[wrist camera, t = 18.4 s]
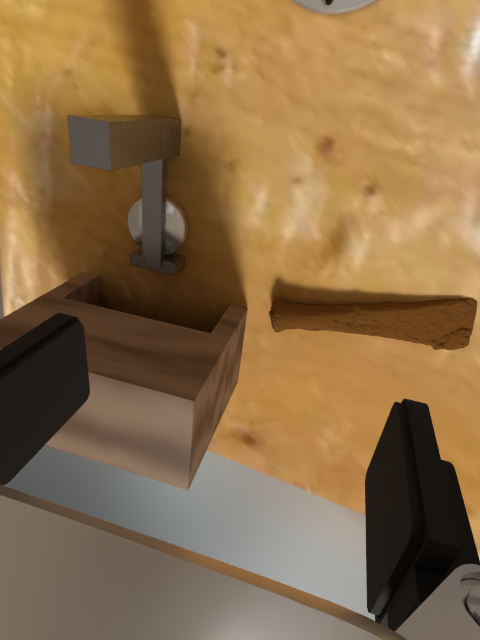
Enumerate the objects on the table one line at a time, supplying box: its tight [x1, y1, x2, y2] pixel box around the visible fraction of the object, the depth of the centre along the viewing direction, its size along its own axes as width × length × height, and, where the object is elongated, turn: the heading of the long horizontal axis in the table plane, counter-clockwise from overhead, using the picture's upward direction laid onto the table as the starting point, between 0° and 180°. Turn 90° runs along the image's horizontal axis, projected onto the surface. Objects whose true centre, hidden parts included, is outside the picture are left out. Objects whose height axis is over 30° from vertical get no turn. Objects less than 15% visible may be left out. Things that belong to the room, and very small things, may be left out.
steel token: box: [128, 195, 189, 255], centre depth 40 cm, size 6×6×2 cm
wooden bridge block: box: [0, 272, 247, 490], centre depth 40 cm, size 10×20×16 cm, turn 84°
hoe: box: [68, 115, 185, 275], centre depth 34 cm, size 14×5×12 cm, turn 173°
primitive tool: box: [269, 298, 477, 350], centre depth 38 cm, size 19×6×4 cm, turn 95°
